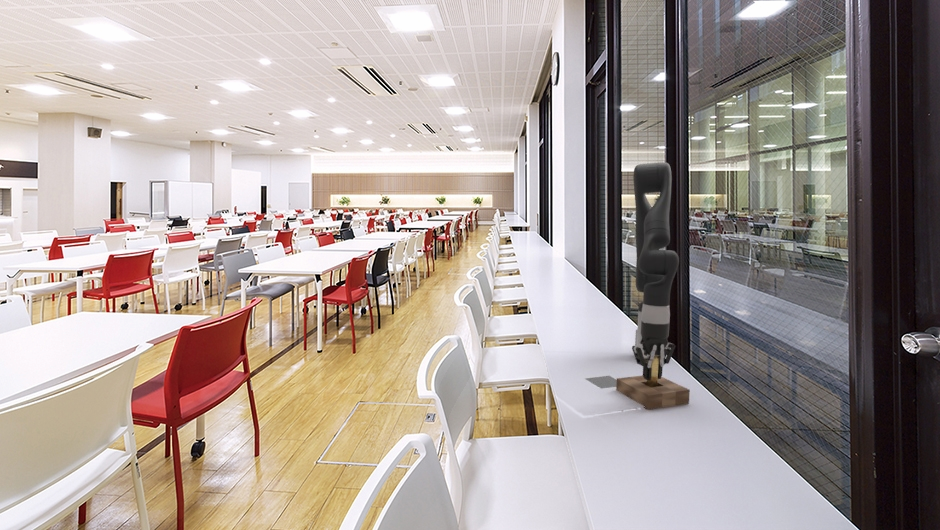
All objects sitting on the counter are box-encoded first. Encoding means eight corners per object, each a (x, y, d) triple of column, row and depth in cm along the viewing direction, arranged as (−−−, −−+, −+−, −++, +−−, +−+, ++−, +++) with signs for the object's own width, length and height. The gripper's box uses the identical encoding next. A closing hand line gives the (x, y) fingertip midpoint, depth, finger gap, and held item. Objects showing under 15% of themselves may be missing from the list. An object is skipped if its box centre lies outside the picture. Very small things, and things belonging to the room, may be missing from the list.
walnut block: (616, 391, 145) (616, 378, 145) (654, 386, 150) (655, 373, 149) (647, 409, 132) (648, 395, 131) (688, 403, 136) (689, 389, 136)
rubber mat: (584, 379, 155) (584, 378, 155) (609, 377, 158) (609, 375, 158) (601, 389, 146) (601, 388, 146) (626, 386, 149) (626, 385, 149)
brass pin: (643, 389, 141) (645, 355, 140) (652, 388, 142) (654, 355, 141) (650, 393, 139) (652, 358, 138) (659, 392, 140) (661, 358, 138)
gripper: (666, 315, 144) (663, 372, 146) (626, 318, 139) (623, 377, 141) (684, 321, 137) (681, 380, 139) (643, 324, 132) (640, 385, 134)
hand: (652, 378), depth 140 cm, fingers closed on brass pin, 3 cm apart
